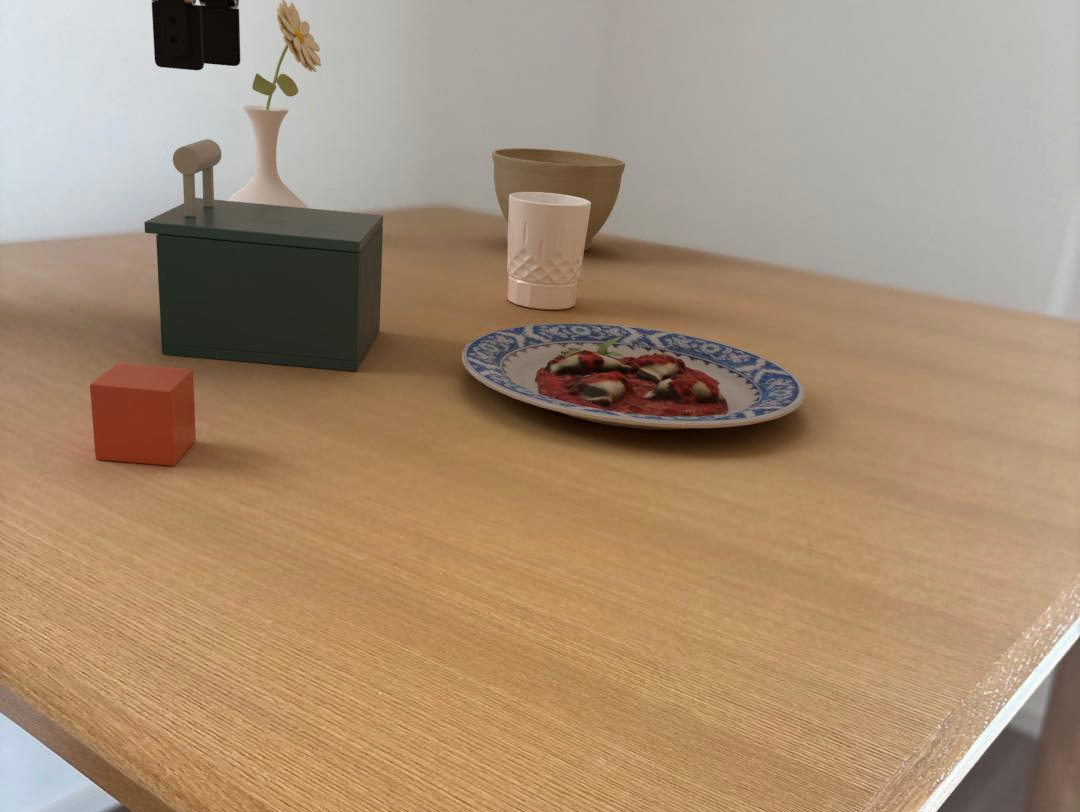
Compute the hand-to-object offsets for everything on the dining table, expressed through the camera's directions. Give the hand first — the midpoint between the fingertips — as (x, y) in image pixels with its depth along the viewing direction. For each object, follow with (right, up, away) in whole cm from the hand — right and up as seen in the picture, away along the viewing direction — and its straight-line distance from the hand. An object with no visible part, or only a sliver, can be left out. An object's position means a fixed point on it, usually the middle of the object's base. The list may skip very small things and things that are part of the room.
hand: (200, 66), depth 82 cm
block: (+1, -29, -15) cm, 33 cm away
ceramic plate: (+31, -23, +4) cm, 39 cm away
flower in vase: (-7, +2, +51) cm, 52 cm away
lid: (+4, -10, +5) cm, 12 cm away
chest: (+4, -18, +9) cm, 21 cm away
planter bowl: (+26, +2, +60) cm, 65 cm away
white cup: (+25, -11, +30) cm, 41 cm away
